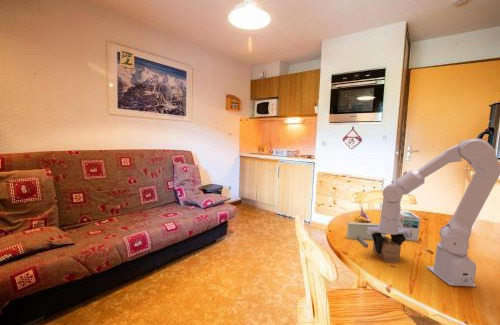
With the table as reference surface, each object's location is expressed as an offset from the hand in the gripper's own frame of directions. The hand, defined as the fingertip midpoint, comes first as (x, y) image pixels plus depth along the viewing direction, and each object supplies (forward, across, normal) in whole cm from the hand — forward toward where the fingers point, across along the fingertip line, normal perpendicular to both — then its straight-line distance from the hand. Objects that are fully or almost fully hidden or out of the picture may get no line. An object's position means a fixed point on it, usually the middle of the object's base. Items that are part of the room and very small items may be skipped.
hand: (385, 252), depth 83 cm
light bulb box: (+2, -20, -20) cm, 28 cm away
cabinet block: (+1, 0, 0) cm, 1 cm away
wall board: (+1, 0, -11) cm, 11 cm away
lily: (+2, -8, -34) cm, 35 cm away
